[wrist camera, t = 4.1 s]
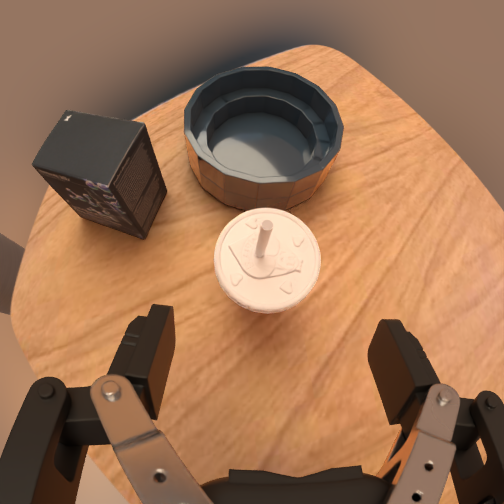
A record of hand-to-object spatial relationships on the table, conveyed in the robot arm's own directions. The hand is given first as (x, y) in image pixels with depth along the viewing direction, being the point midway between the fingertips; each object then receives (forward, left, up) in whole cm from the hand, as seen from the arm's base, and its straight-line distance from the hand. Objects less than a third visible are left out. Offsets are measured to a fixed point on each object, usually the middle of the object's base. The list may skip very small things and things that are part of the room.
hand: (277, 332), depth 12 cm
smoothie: (+1, +5, -15) cm, 16 cm away
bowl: (+3, +19, -15) cm, 24 cm away
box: (-11, +14, -15) cm, 24 cm away
